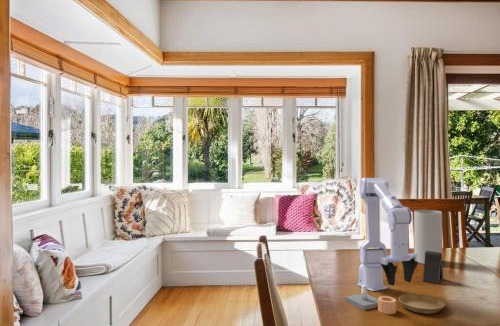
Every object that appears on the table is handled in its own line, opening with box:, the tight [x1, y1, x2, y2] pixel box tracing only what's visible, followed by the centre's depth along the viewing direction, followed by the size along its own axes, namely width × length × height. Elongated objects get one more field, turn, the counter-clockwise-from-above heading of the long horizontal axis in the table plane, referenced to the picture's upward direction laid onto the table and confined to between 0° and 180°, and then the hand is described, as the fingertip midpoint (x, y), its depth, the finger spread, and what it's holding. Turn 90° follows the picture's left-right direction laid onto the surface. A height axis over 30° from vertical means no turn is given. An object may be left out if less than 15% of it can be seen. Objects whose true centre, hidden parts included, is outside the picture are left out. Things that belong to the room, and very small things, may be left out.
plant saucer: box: [398, 293, 446, 315], centre depth 140 cm, size 15×15×3 cm
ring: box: [377, 295, 397, 315], centre depth 137 cm, size 6×6×4 cm
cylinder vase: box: [413, 209, 443, 265], centre depth 200 cm, size 12×12×25 cm
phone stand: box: [422, 251, 445, 285], centre depth 170 cm, size 9×6×12 cm, turn 141°
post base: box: [345, 285, 378, 311], centre depth 145 cm, size 10×9×6 cm
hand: (399, 283), depth 137 cm, fingers open, 7 cm apart
